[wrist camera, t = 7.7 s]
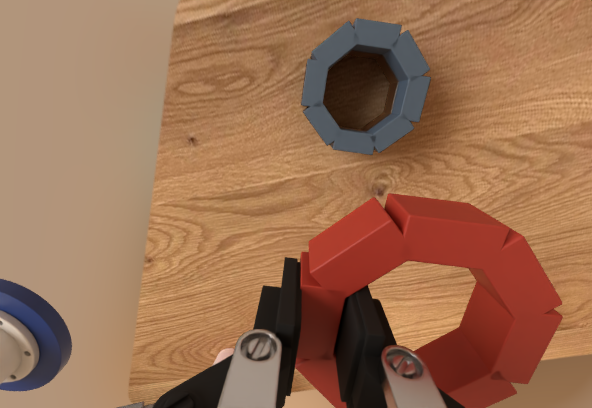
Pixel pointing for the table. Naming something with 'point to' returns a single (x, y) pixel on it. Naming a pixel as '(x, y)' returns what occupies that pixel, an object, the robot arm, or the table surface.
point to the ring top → (438, 250)
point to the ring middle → (403, 64)
